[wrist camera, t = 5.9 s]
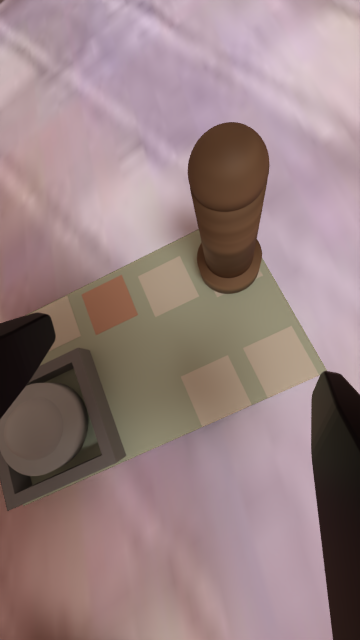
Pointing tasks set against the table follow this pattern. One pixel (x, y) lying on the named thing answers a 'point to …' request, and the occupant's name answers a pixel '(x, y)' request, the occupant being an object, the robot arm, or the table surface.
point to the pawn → (228, 204)
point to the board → (162, 359)
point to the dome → (43, 428)
